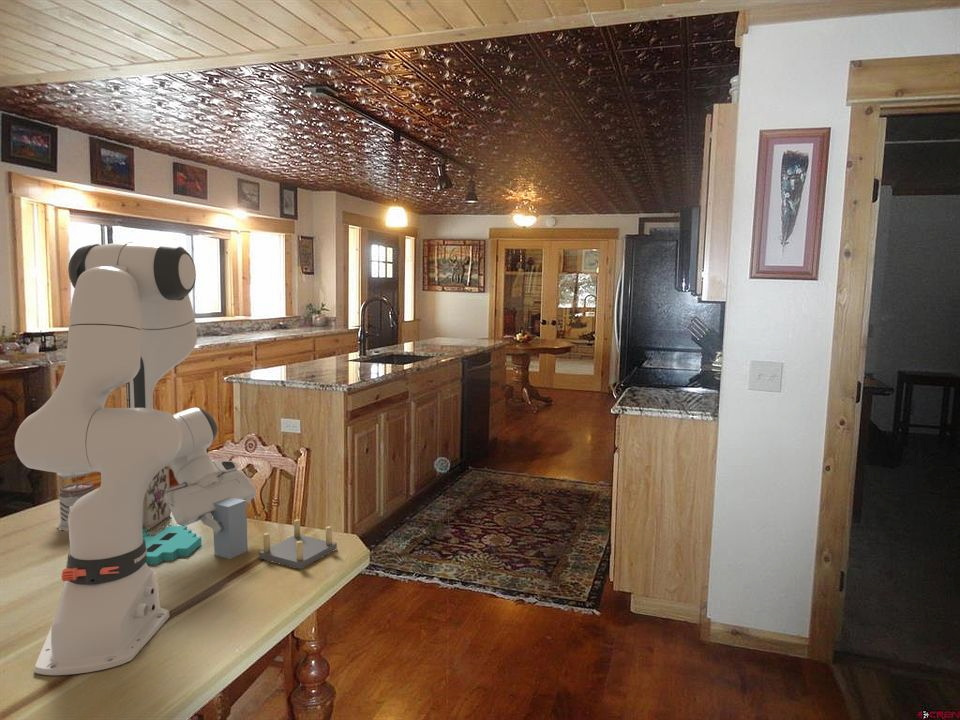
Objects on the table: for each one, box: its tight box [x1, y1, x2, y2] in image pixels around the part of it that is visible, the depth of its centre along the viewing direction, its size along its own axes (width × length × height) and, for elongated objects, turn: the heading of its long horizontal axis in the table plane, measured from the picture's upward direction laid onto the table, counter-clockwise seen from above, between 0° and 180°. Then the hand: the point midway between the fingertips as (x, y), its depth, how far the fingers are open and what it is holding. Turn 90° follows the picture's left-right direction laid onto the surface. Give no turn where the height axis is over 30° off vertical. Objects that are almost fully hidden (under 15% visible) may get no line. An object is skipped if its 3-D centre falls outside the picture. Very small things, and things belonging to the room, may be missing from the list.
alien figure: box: [142, 525, 202, 565], centre depth 144 cm, size 20×2×20 cm
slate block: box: [212, 497, 249, 560], centre depth 142 cm, size 5×5×12 cm
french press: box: [56, 472, 95, 531], centre depth 159 cm, size 10×12×25 cm
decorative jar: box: [100, 466, 172, 532], centre depth 159 cm, size 12×12×18 cm
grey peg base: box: [258, 518, 338, 570], centre depth 142 cm, size 12×12×6 cm
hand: (232, 526), depth 141 cm, fingers closed on slate block, 5 cm apart
